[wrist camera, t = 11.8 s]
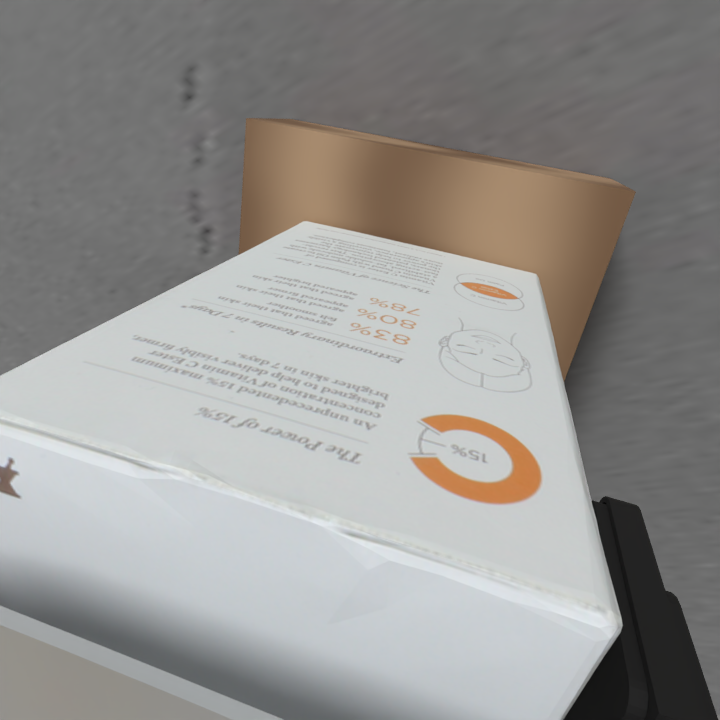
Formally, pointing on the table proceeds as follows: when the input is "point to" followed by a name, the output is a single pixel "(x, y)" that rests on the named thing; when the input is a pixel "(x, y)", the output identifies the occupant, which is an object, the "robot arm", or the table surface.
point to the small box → (316, 487)
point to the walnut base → (439, 207)
